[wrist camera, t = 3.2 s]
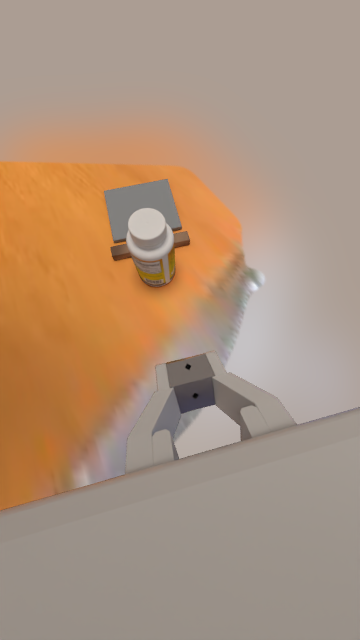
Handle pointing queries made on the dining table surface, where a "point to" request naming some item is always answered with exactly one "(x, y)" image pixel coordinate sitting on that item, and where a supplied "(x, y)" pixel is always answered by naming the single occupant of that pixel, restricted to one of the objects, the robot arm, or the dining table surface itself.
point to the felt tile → (140, 205)
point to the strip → (123, 252)
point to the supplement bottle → (151, 246)
